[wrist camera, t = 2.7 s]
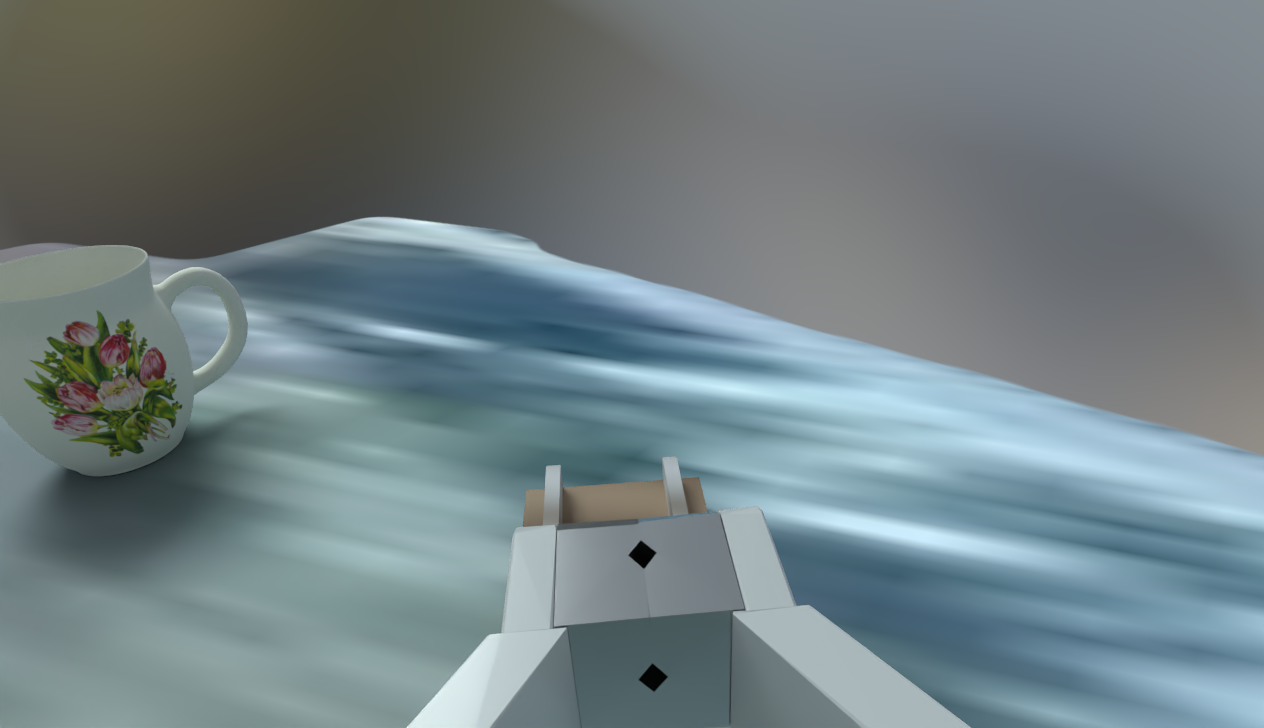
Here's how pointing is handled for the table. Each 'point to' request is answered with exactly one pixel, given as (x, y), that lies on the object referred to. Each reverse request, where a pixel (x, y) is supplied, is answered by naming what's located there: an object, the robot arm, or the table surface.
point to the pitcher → (102, 356)
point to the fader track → (613, 499)
